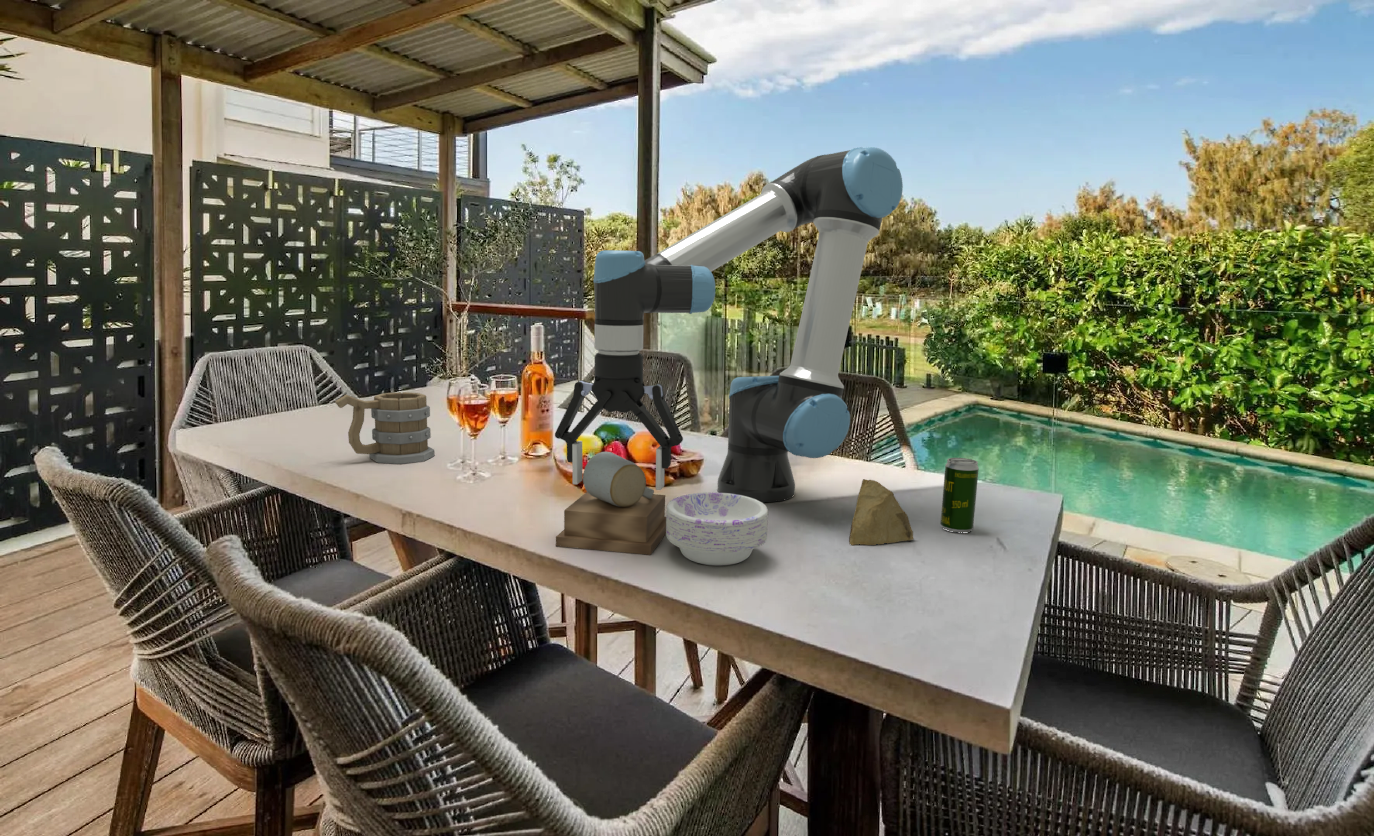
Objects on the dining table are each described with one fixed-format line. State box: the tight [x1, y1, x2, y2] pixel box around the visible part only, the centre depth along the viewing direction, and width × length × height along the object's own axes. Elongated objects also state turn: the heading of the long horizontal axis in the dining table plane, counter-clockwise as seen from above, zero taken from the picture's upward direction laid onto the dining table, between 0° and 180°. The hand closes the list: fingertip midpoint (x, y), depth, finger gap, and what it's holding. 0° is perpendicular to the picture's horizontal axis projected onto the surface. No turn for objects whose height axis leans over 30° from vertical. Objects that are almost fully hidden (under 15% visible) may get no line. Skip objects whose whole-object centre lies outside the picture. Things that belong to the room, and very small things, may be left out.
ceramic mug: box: [582, 451, 655, 507], centre depth 129 cm, size 11×8×8 cm
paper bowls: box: [665, 492, 769, 566], centre depth 121 cm, size 15×15×8 cm
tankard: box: [335, 391, 436, 465], centre depth 176 cm, size 20×13×15 cm, turn 128°
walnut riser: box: [555, 491, 666, 556], centre depth 129 cm, size 15×15×6 cm
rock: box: [848, 478, 915, 546], centre depth 130 cm, size 11×9×10 cm
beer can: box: [940, 457, 980, 534], centre depth 137 cm, size 5×5×12 cm
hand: (618, 485), depth 129 cm, fingers open, 13 cm apart
